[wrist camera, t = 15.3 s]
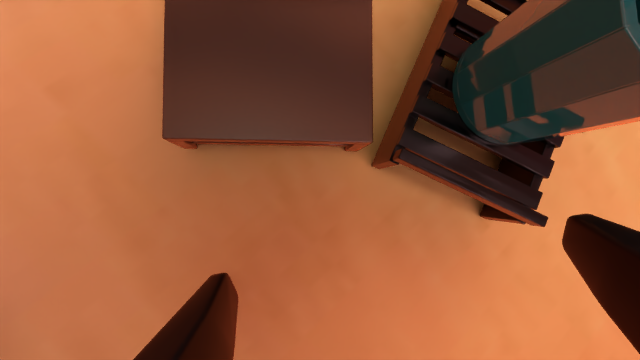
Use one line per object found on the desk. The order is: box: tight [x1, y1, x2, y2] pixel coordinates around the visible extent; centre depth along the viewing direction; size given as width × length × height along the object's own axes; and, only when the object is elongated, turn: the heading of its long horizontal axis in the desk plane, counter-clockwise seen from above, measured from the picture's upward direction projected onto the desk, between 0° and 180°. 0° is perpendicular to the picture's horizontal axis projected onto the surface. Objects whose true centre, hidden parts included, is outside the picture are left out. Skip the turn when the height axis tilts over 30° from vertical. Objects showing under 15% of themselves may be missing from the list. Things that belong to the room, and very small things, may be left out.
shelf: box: [162, 0, 373, 151], centre depth 18 cm, size 9×11×5 cm
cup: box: [452, 0, 640, 145], centre depth 14 cm, size 6×6×9 cm
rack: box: [372, 0, 564, 227], centre depth 20 cm, size 13×9×5 cm
